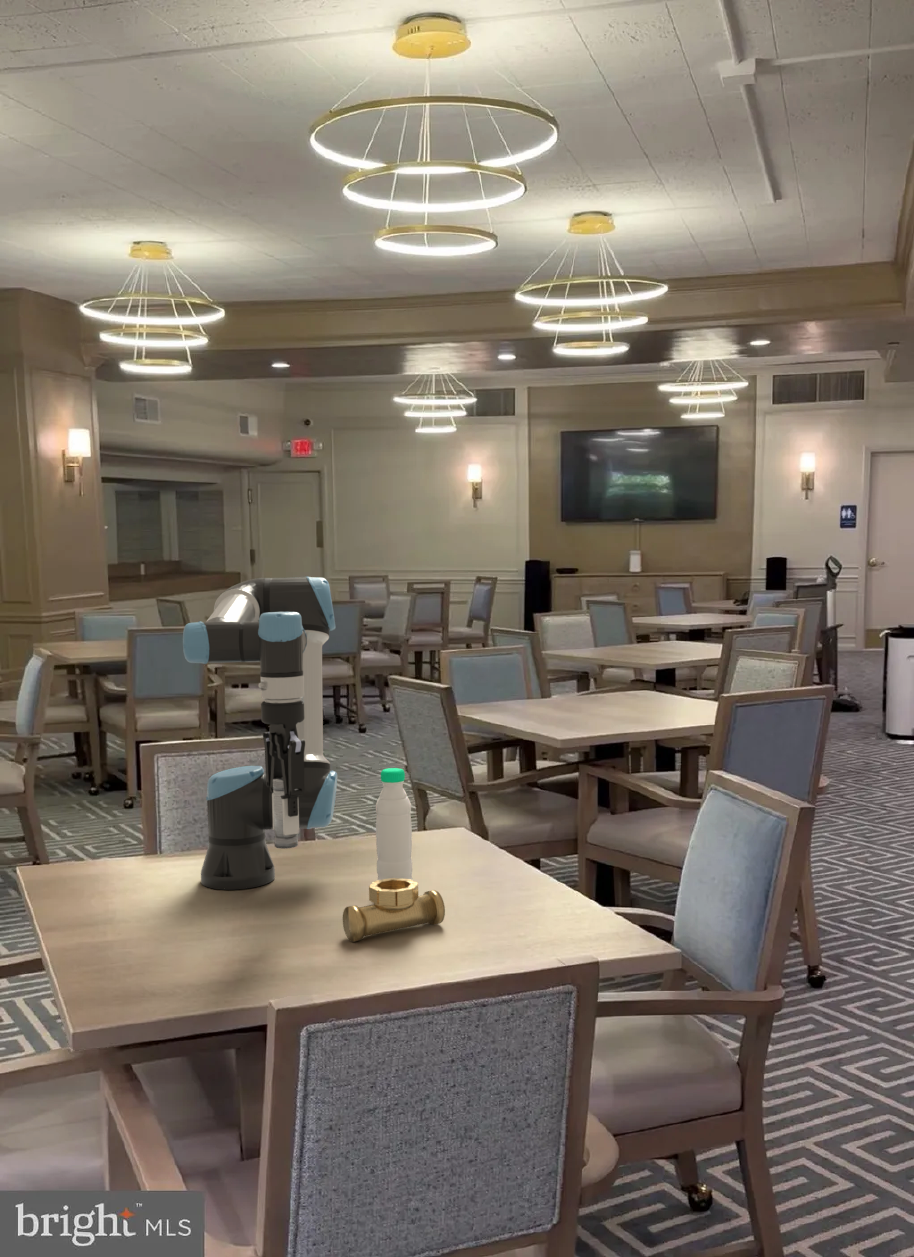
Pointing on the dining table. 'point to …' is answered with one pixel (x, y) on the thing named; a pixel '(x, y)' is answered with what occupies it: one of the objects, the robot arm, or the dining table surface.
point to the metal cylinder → (281, 818)
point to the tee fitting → (393, 909)
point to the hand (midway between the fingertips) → (286, 831)
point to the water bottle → (393, 827)
